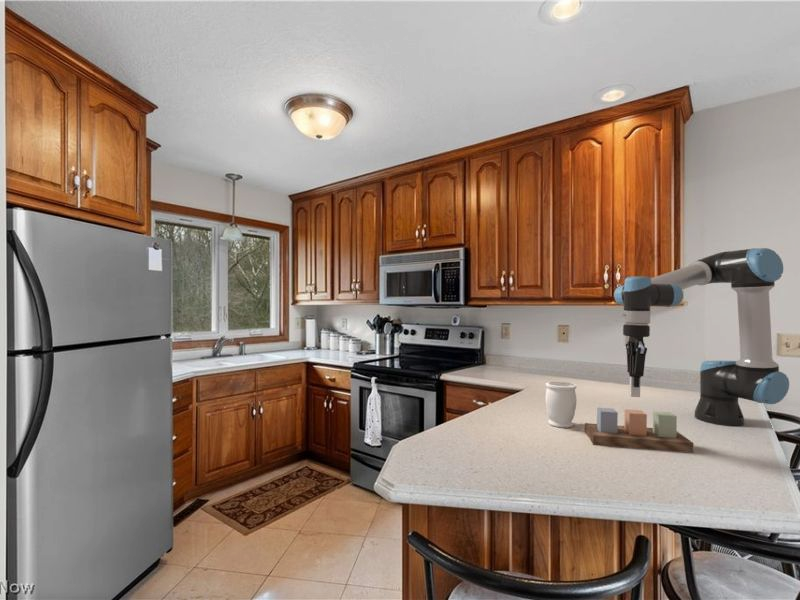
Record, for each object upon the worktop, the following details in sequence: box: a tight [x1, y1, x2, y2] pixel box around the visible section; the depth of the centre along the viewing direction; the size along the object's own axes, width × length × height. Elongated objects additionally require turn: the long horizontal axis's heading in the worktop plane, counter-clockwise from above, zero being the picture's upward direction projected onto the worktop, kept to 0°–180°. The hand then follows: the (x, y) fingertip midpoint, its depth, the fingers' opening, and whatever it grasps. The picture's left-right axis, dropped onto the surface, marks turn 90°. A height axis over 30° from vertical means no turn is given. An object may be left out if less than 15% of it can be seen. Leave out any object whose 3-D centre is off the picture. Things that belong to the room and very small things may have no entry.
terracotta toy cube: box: [623, 409, 648, 436], centre depth 134 cm, size 5×5×8 cm
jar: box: [544, 381, 577, 429], centre depth 151 cm, size 11×10×15 cm
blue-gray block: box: [596, 407, 619, 434], centre depth 136 cm, size 5×5×8 cm
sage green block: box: [652, 410, 678, 438], centre depth 132 cm, size 5×5×8 cm
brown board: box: [584, 422, 694, 454], centre depth 134 cm, size 28×13×3 cm, turn 77°
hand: (634, 396), depth 134 cm, fingers closed
